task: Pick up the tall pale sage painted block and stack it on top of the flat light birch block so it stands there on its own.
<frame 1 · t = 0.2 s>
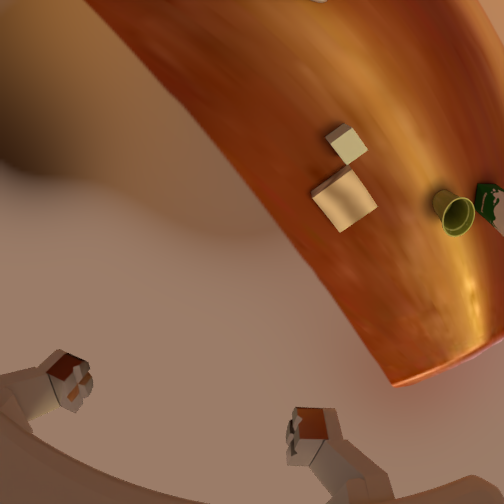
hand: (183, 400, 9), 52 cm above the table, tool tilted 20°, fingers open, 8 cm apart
plant pot: (441, 201, 54), on the table
sage block: (341, 139, 50), on the table
birch block: (342, 195, 57), on the table
milk carton: (484, 196, 51), on the table
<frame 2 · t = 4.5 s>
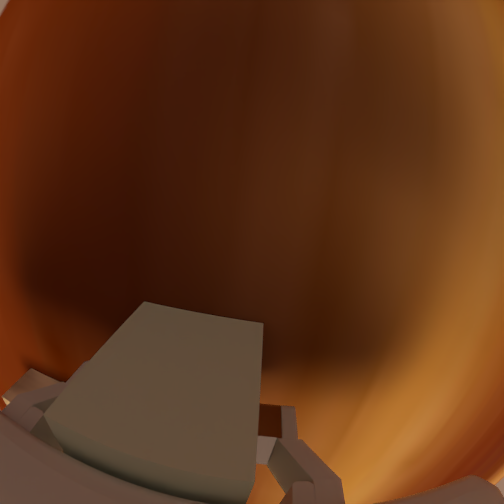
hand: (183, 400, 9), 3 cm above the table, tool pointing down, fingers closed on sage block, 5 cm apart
sage block: (198, 361, 12), on the table, touching gripper
birch block: (104, 435, 15), on the table
when the fingers open (7 cm above the table, at t = 10.5 s): sage block drops 1 cm, resting on birch block.
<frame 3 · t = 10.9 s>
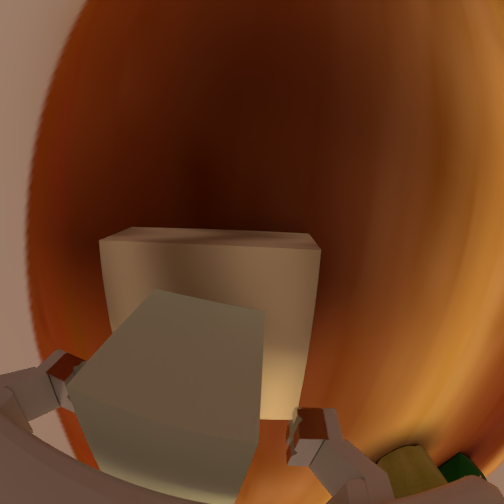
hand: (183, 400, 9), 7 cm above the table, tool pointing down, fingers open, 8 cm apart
plant pot: (396, 458, 20), on the table
sage block: (203, 346, 13), point 4 cm above the table, touching birch block
birch block: (216, 310, 17), on the table, touching sage block
milk carton: (445, 469, 22), on the table
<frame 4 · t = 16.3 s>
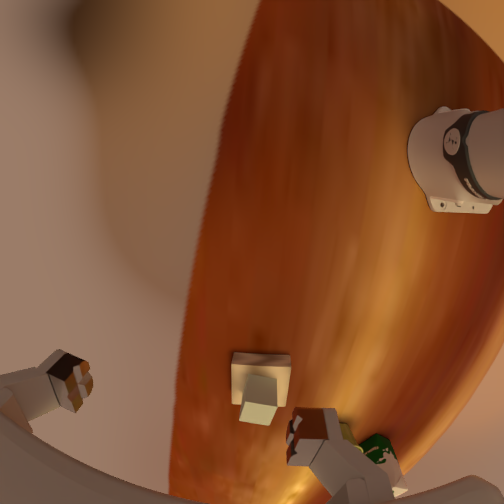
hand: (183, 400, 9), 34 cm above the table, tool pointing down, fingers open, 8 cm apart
plant pot: (335, 429, 52), on the table
sage block: (259, 386, 45), point 4 cm above the table, touching birch block
birch block: (260, 373, 49), on the table, touching sage block
milk carton: (372, 443, 54), on the table
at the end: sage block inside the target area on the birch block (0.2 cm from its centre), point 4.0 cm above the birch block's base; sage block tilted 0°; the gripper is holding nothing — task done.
